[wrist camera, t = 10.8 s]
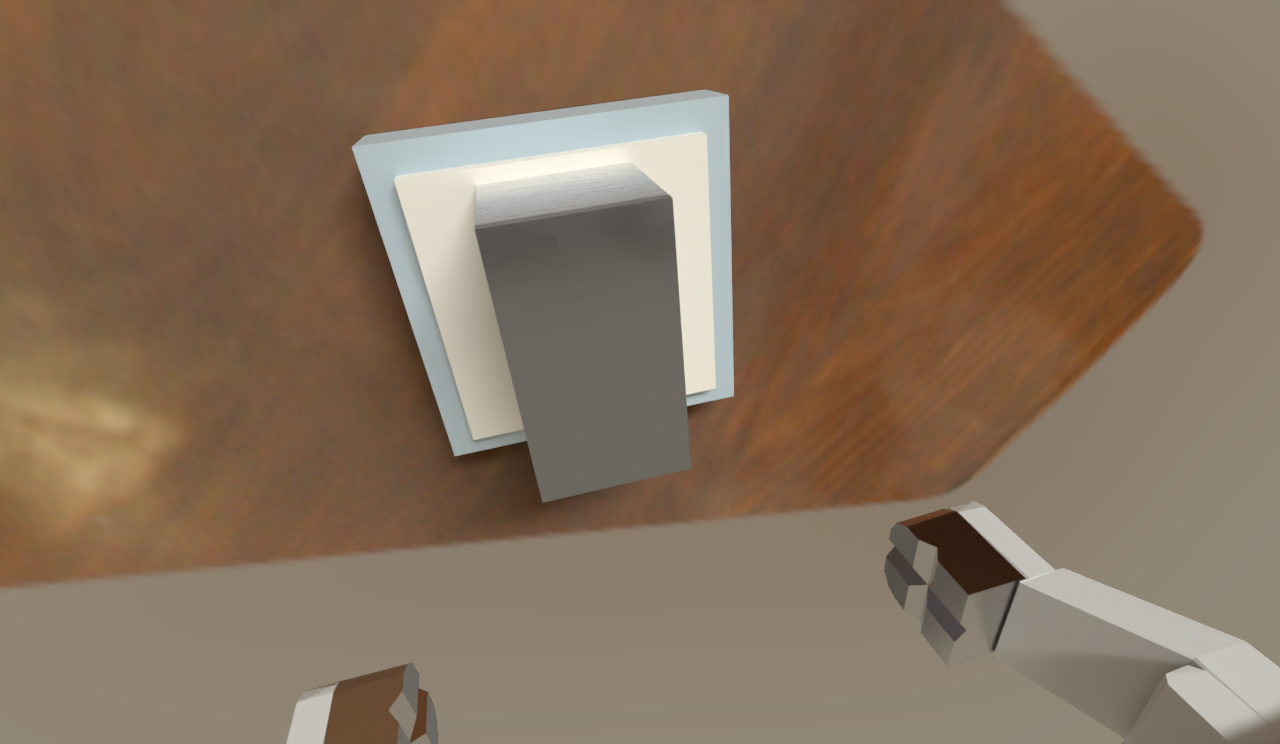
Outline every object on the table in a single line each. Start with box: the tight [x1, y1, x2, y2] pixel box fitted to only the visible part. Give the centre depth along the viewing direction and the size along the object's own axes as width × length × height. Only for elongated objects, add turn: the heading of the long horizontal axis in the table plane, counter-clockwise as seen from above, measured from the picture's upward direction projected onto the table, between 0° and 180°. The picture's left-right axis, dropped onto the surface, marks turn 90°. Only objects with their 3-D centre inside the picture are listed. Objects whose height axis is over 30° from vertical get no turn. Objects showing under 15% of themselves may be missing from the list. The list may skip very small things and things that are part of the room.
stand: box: [352, 90, 734, 456], centre depth 22 cm, size 12×12×3 cm
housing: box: [475, 162, 691, 503], centre depth 19 cm, size 9×5×5 cm, turn 6°
